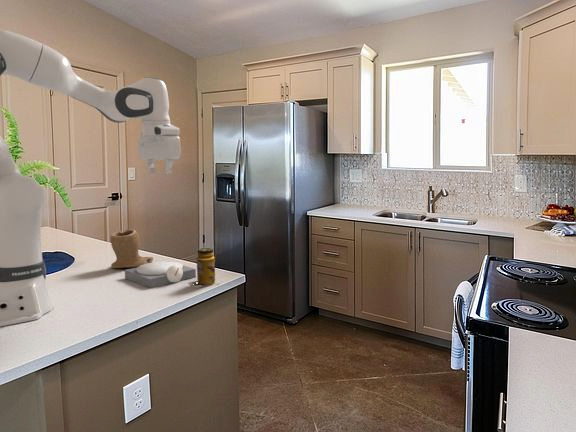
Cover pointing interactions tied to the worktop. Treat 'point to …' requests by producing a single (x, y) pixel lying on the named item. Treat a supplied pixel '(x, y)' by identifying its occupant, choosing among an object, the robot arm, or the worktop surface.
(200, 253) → the condiment
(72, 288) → the worktop surface
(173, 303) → the worktop surface
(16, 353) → the worktop surface
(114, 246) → the stone cup
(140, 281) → the scale
